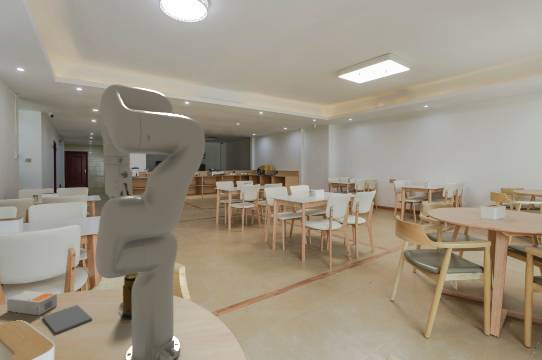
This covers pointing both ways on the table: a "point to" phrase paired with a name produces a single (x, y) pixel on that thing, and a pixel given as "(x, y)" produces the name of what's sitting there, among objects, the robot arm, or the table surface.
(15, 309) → the skincare box
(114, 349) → the table surface
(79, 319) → the mat
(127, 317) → the condiment
